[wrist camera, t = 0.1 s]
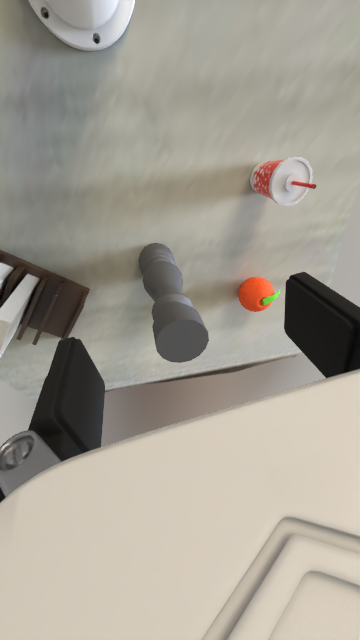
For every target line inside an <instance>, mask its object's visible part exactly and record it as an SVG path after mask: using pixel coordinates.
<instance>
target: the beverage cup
mask: <svg viewBox="0 0 360 640" xmlns="http://www.w3.org/2000/svg"><path fill="white" fill-rule="evenodd" d="M312 176H313V173H312V168H311V165H310V164H309V162H308V161H307V160H306V159H304V158H301V157H292V158H287V159H286V160H278V161H267V162H261V163H259V164H258V165H256V167H255V168H254V169H253V171H252V173H251V176H250V184H251V186H252V188H253V189H254V190H255V191H256V192H258V193H260V194H262V195H264V196H267V197H269V198H271V199H273V200H274V201H275V202H276V203H277V204H280V205H283V206H290V205H294V204H296V203H297V202H299V201H301V200H302V198H303V197H304V196H305V195H306V194H307V192H308V190H309V188H313V189H315V188H316V185H315V184H311V183H312Z"/></svg>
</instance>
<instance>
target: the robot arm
mask: <svg viewBox="0 0 360 640" xmlns="http://www.w3.org/2000/svg"><path fill="white" fill-rule="evenodd" d="M28 1H29V3H30V5H31V7H32V8H33V10H34V11H35V13H36V14H37V16H38V17H39V19H40V20H41V21H42V22H43V24H44V25H45V26H46V27H47V28H48V29H49V31H50V32H52V33H53V34H54V35H55V36H56V37H57V38H59V39H60V40H61V41H63V42H64V43H66V44H68V45H69V46H71V47H74V48H77V49H80V50H84V51H97V50H102V49H104V48H107V47H109V46H111V45H112V44H113V43H114V42H116V41H117V40H118V39H119V38H120V36H121V35H122V34H123V32H124V31H125V29H126V27H127V25H128V23H129V21H130V19H131V15H132V11H133V8H134V3H135V0H28ZM46 13H47V14H48V15H49V17H48V18H47V19H46V18H45V16H44V15H45V14H46ZM96 38H97V39H98V40H99V43H95V39H96ZM284 329H285V332H286V334H287V335H288V337H289V338H290V339H291V340H292V341H293V342H294V343H295V344H296V345H297V346H298V348H299V349H300V350H301V351H302V352H303V353H304V354H305V355H306V356H307V357H308V359H309V360H310V361H311V362H312V363H313V364H314V365H315V366H316V367H317V368H318V370H319V371H320V372H321V373H322V374H323V375H324V376H325V377H326V379H323V380H319V381H316V382H313V383H309V384H306V385H302V386H299V387H296V388H292V389H289V390H285V391H282V392H279V393H275V394H272V395H269V396H265V397H262V398H258V399H255V400H252V401H249V402H245V403H242V404H239V405H235V406H232V407H229V408H225V409H222V410H219V411H215V412H212V413H209V414H205V415H203V416H199V417H196V418H192V419H189V420H186V421H183V422H179V423H176V424H173V425H169V426H166V427H163V428H160V429H157V430H153V431H150V432H147V433H144V434H140V435H137V436H134V437H131V438H128V439H124V440H121V441H118V442H115V443H112V444H109V445H106V446H103V447H101V437H102V423H103V422H102V421H103V408H104V394H105V384H104V381H103V379H102V377H101V375H100V374H99V372H98V370H97V368H96V367H95V365H94V363H93V361H92V359H91V358H90V356H89V354H88V352H87V350H86V349H85V347H84V345H83V343H82V341H81V340H80V339H75V338H74V337H71V338H67V339H64V340H60V341H59V343H58V346H57V349H56V352H55V355H54V358H53V361H52V364H51V367H50V370H49V373H48V376H47V377H46V379H45V381H44V384H43V387H42V390H41V393H40V396H39V399H38V402H37V405H36V408H35V411H34V414H33V417H32V420H31V423H30V426H29V429H28V430H27V431H23V432H20V433H18V434H16V435H14V436H12V437H11V438H9V439H8V440H7V441H6V442H5V443H4V444H3V445H2V446H1V447H0V640H360V307H358V306H356V305H355V304H353V303H352V302H350V301H349V300H347V299H346V298H344V297H343V296H341V295H339V294H338V293H336V292H335V291H333V290H332V289H330V288H329V287H327V286H326V285H324V284H323V283H321V282H320V281H318V280H316V279H315V278H313V277H312V276H310V275H309V274H307V273H305V272H301V273H298V274H294V275H291V276H290V277H289V279H288V280H287V281H286V294H285V322H284Z"/></svg>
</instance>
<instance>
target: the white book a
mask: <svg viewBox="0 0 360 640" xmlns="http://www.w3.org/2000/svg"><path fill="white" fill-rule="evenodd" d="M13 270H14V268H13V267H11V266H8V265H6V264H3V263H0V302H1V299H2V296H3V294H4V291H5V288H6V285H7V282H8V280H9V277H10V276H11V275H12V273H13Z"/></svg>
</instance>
